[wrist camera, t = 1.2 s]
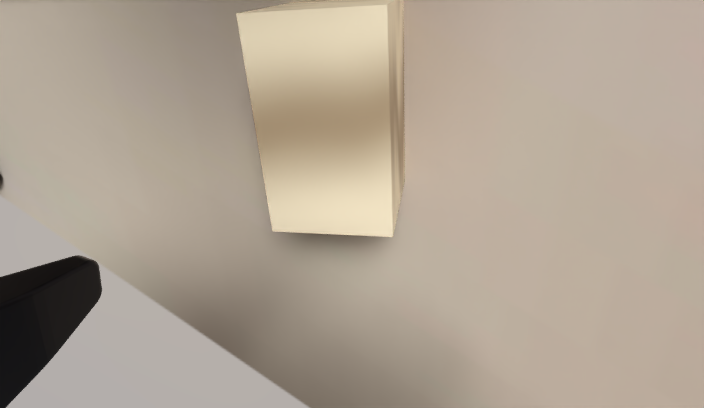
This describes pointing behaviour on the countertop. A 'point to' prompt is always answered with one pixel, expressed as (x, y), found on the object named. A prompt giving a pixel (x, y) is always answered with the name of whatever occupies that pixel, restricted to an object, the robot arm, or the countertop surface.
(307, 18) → the maple block
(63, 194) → the countertop surface
